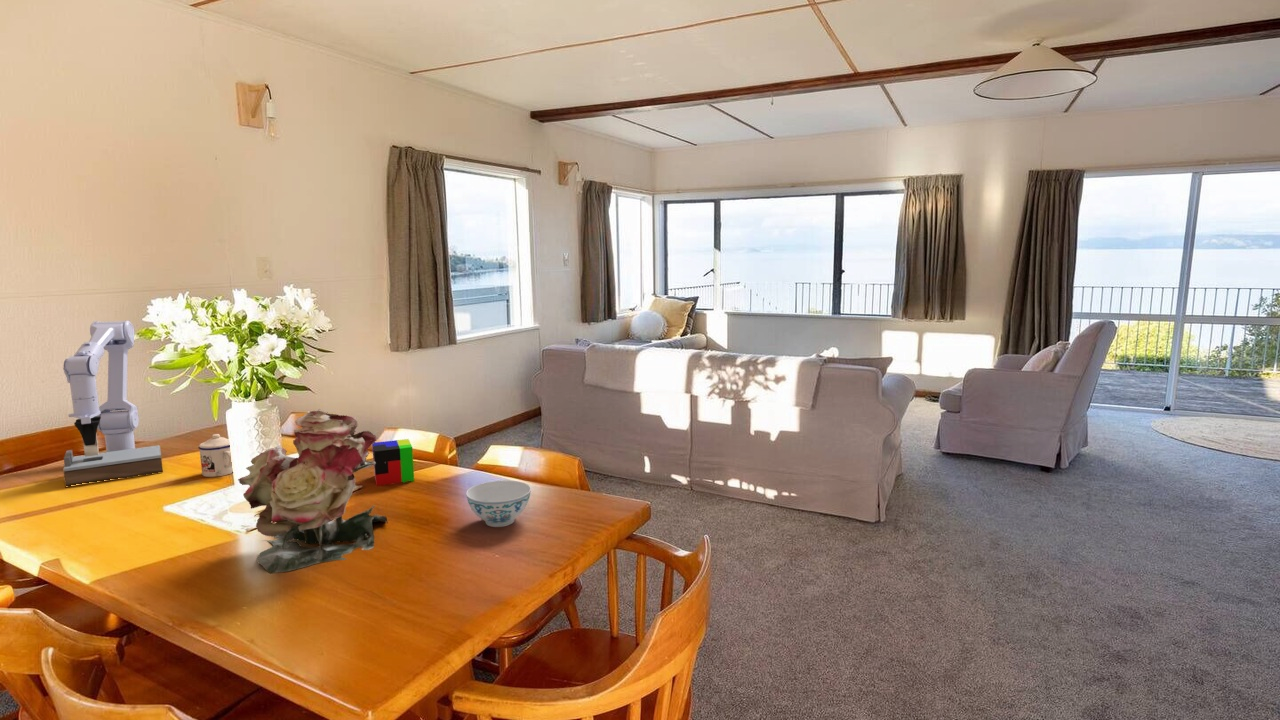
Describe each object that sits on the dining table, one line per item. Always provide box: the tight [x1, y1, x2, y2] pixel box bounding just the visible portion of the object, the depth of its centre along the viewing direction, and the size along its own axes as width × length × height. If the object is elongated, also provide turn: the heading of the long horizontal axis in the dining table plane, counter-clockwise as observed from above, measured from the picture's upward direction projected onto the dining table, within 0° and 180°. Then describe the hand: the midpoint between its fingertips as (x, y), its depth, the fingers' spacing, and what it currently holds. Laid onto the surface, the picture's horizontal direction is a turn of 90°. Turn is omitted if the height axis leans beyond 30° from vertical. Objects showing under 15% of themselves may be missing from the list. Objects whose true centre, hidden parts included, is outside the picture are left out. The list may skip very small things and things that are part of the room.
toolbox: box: [63, 457, 164, 487], centre depth 195 cm, size 14×22×4 cm, turn 127°
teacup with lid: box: [198, 433, 233, 478], centre depth 195 cm, size 12×9×12 cm
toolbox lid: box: [62, 444, 162, 472], centre depth 195 cm, size 14×22×3 cm, turn 127°
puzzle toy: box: [371, 438, 415, 487], centre depth 190 cm, size 10×10×10 cm
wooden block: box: [82, 432, 100, 457], centre depth 191 cm, size 3×3×6 cm
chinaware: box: [465, 480, 532, 528], centre depth 157 cm, size 15×15×8 cm
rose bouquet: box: [237, 408, 389, 574], centre depth 142 cm, size 26×29×30 cm
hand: (90, 443), depth 191 cm, fingers closed on wooden block, 3 cm apart
